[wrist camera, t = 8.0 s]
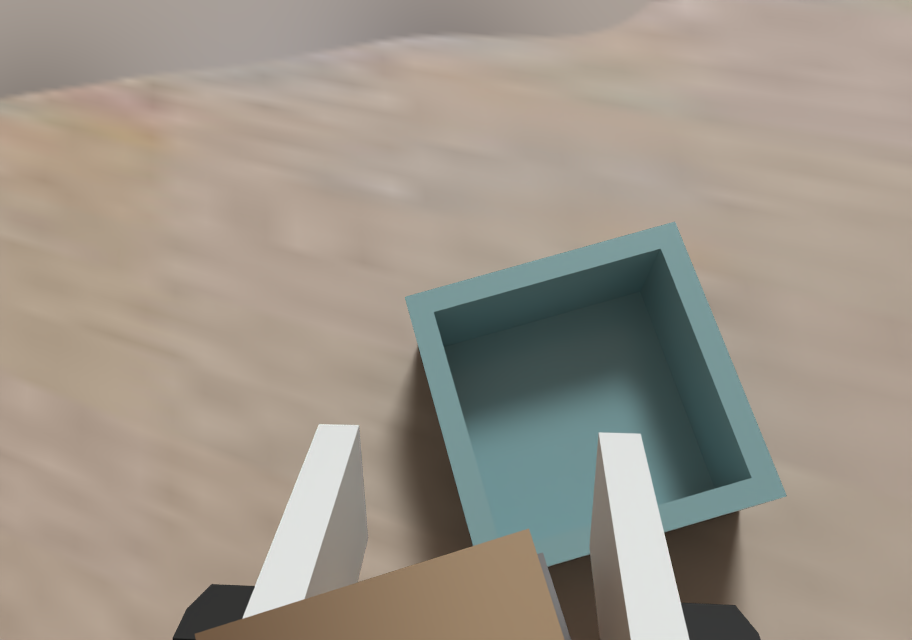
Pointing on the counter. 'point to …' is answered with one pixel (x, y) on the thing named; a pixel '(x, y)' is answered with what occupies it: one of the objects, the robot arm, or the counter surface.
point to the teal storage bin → (588, 390)
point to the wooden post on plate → (426, 602)
